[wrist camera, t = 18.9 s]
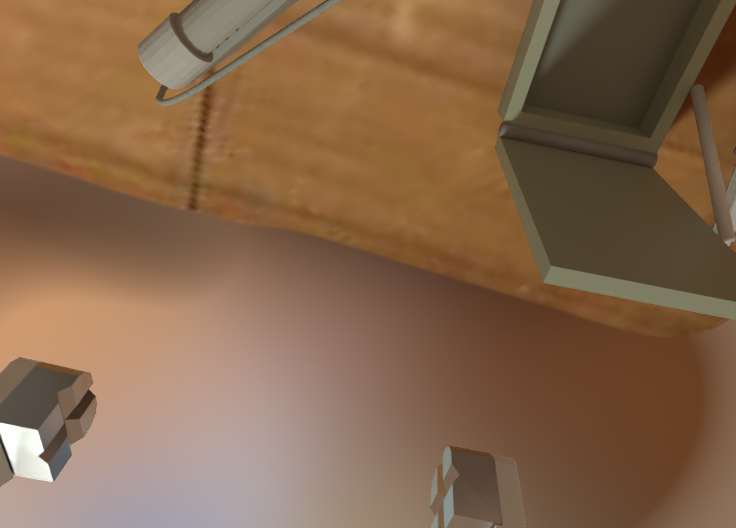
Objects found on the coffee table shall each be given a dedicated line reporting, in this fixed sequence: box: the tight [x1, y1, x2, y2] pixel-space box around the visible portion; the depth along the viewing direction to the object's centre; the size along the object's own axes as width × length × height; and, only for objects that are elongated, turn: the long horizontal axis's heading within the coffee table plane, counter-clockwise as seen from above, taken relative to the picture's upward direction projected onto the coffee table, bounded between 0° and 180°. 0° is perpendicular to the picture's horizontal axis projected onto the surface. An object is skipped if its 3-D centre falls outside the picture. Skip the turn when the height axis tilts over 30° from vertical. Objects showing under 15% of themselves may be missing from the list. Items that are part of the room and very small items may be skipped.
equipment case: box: [495, 0, 736, 320], centre depth 27 cm, size 13×22×21 cm, turn 170°
